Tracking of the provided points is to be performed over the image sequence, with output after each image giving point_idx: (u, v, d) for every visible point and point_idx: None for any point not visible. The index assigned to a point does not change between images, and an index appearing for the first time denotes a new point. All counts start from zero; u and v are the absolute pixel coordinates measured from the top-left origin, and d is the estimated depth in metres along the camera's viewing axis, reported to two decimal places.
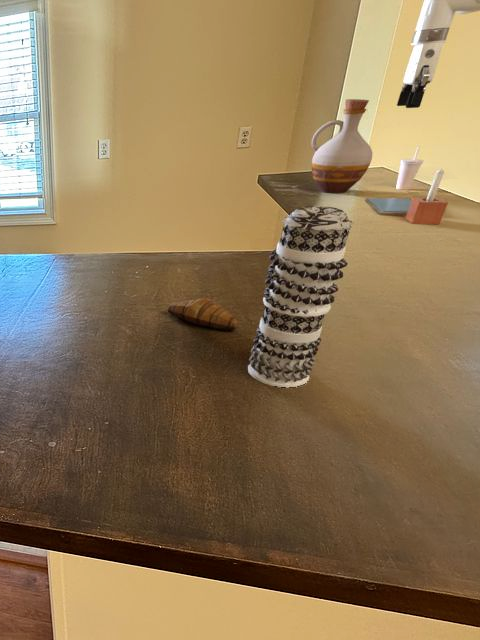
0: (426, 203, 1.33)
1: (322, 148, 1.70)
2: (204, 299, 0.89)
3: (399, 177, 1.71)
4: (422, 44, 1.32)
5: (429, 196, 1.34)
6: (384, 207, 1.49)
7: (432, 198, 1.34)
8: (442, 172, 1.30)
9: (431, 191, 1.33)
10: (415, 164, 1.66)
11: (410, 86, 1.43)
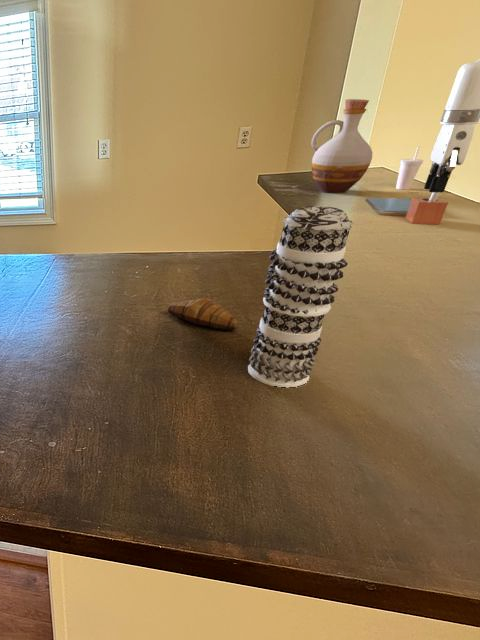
0: (426, 203, 1.33)
1: (322, 148, 1.70)
2: (204, 299, 0.89)
3: (399, 177, 1.71)
4: (453, 125, 1.23)
5: (432, 196, 1.34)
6: (384, 207, 1.49)
7: (435, 198, 1.34)
8: None
9: None
10: (415, 164, 1.66)
11: None
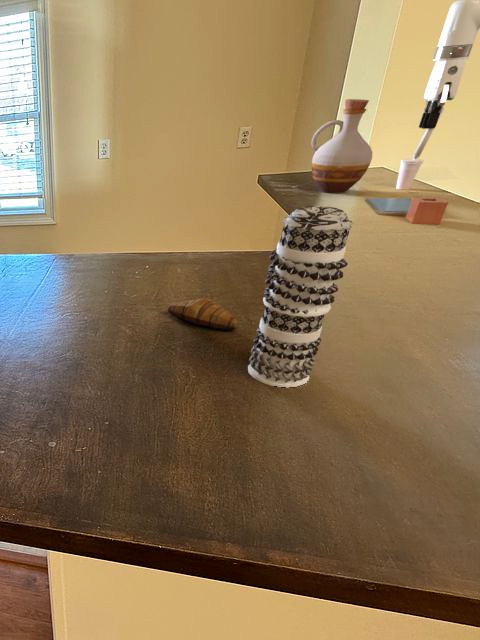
0: (426, 203, 1.33)
1: (322, 148, 1.70)
2: (204, 299, 0.89)
3: (399, 177, 1.71)
4: (445, 60, 1.30)
5: (426, 133, 1.40)
6: (384, 207, 1.49)
7: (428, 135, 1.40)
8: (442, 109, 1.36)
9: None
10: (415, 164, 1.66)
11: None
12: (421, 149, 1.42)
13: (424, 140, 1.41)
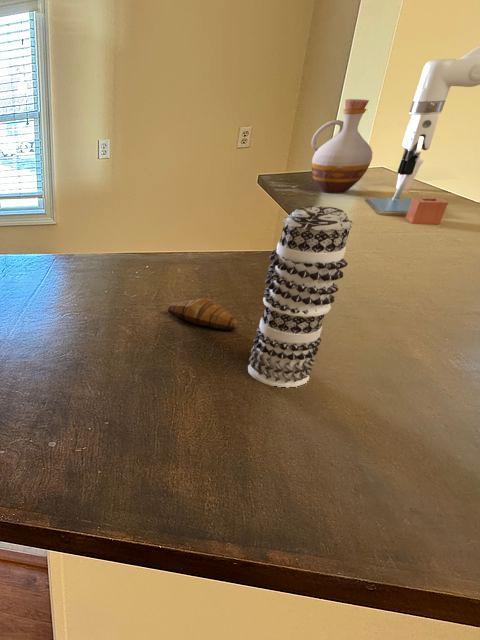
0: (426, 203, 1.33)
1: (322, 148, 1.70)
2: (204, 299, 0.89)
3: (399, 177, 1.71)
4: (419, 115, 1.40)
5: (404, 179, 1.51)
6: (384, 207, 1.49)
7: (406, 180, 1.50)
8: (418, 157, 1.47)
9: None
10: None
11: None
12: (399, 193, 1.52)
13: (402, 185, 1.51)
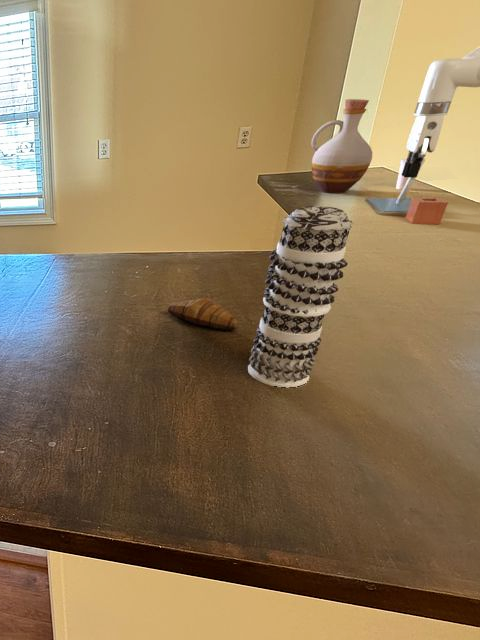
0: (426, 203, 1.33)
1: (322, 148, 1.70)
2: (204, 299, 0.89)
3: (399, 177, 1.71)
4: (425, 116, 1.36)
5: (408, 182, 1.47)
6: (384, 207, 1.49)
7: (410, 183, 1.47)
8: (423, 160, 1.43)
9: None
10: None
11: None
12: (404, 196, 1.49)
13: (406, 188, 1.47)
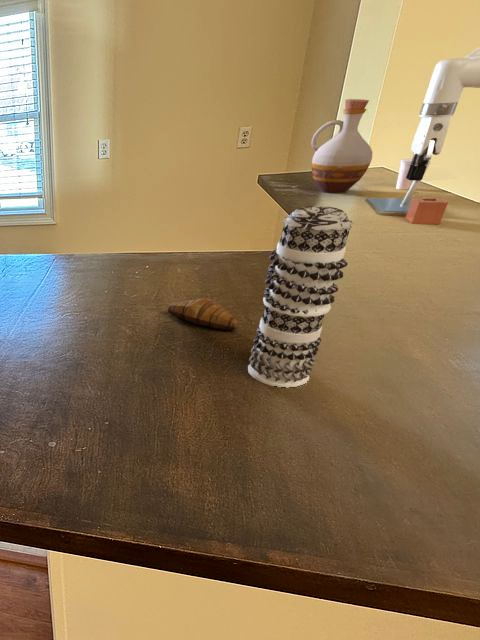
0: (426, 203, 1.33)
1: (322, 148, 1.70)
2: (204, 299, 0.89)
3: (399, 177, 1.71)
4: (430, 117, 1.32)
5: (413, 185, 1.43)
6: (384, 207, 1.49)
7: (415, 187, 1.43)
8: (429, 162, 1.39)
9: None
10: None
11: None
12: (408, 199, 1.45)
13: (411, 191, 1.44)
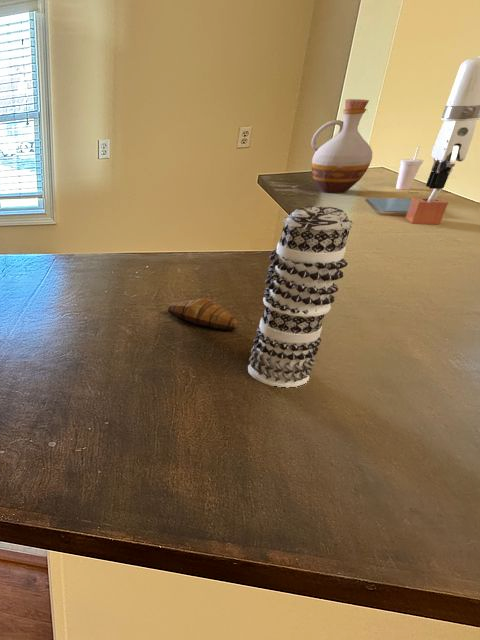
0: (426, 203, 1.33)
1: (322, 148, 1.70)
2: (204, 299, 0.89)
3: (399, 177, 1.71)
4: (454, 121, 1.22)
5: (433, 193, 1.33)
6: (384, 207, 1.49)
7: (436, 195, 1.33)
8: (451, 169, 1.29)
9: None
10: (415, 164, 1.66)
11: None
12: None
13: (431, 200, 1.34)
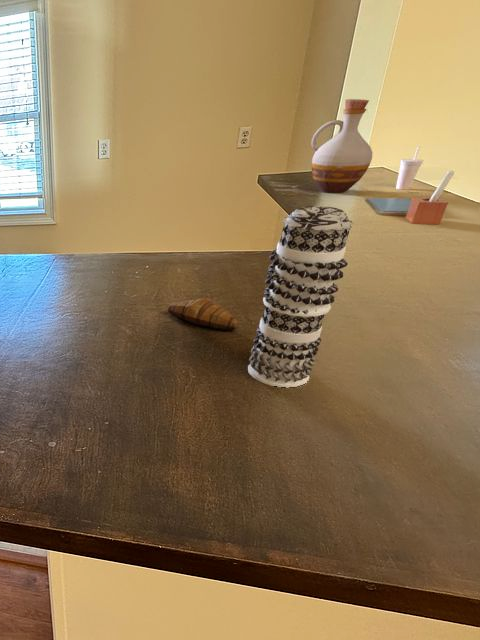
0: (426, 203, 1.33)
1: (322, 148, 1.70)
2: (204, 299, 0.89)
3: (399, 177, 1.71)
4: None
5: (433, 197, 1.33)
6: (384, 207, 1.49)
7: (436, 199, 1.33)
8: (452, 173, 1.29)
9: (437, 191, 1.32)
10: (415, 164, 1.66)
11: None
12: None
13: None
